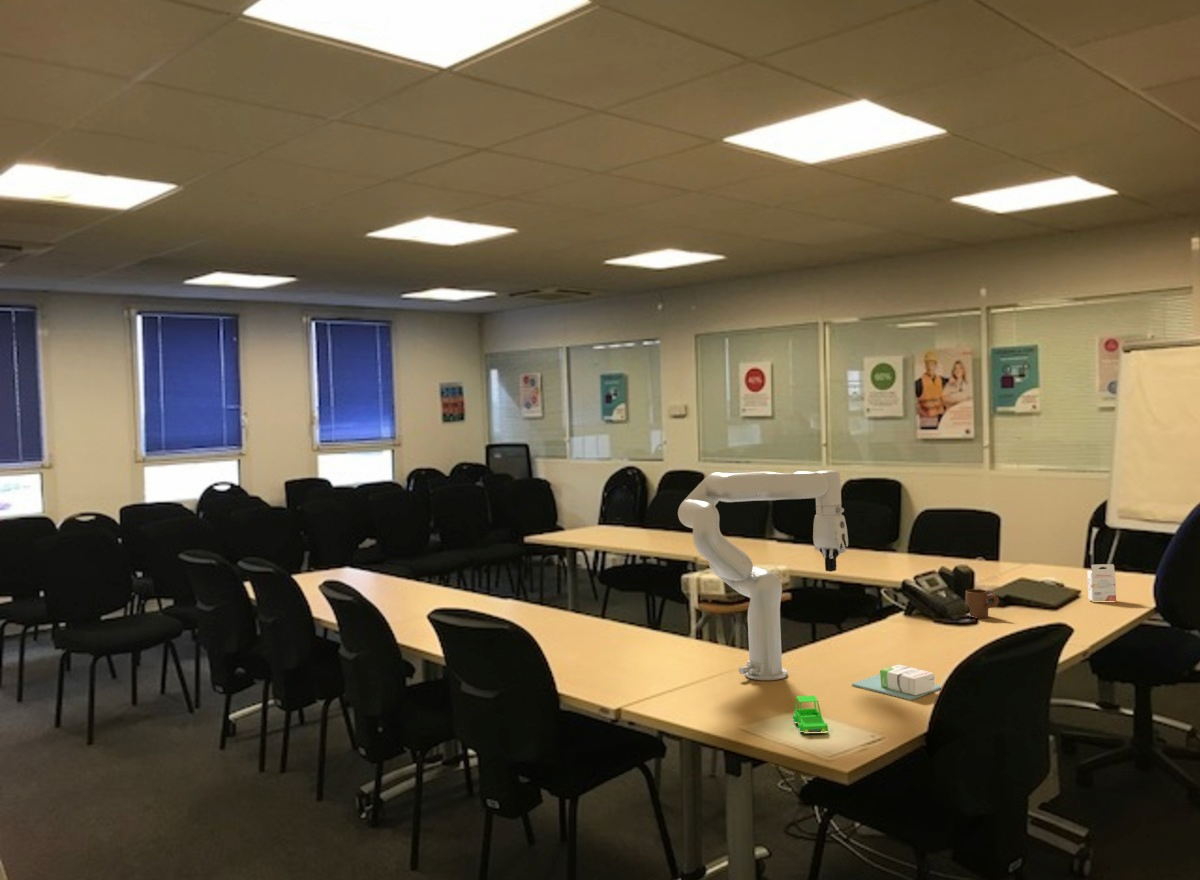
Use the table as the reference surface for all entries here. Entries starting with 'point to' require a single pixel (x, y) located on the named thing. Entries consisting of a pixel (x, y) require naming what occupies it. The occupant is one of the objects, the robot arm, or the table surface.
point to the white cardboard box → (907, 679)
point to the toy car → (809, 716)
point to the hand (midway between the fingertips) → (830, 570)
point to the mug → (980, 602)
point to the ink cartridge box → (1101, 583)
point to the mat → (875, 685)
